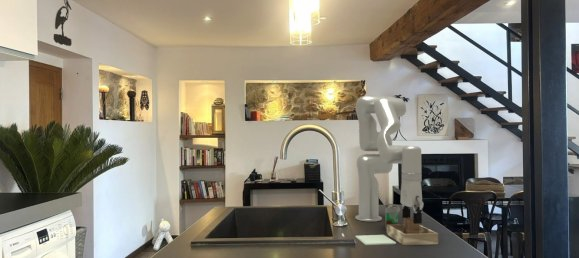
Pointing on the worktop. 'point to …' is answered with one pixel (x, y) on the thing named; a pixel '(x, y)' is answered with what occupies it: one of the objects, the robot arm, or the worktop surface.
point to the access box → (412, 235)
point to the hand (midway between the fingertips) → (411, 220)
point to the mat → (375, 239)
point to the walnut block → (410, 226)
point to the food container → (391, 214)
